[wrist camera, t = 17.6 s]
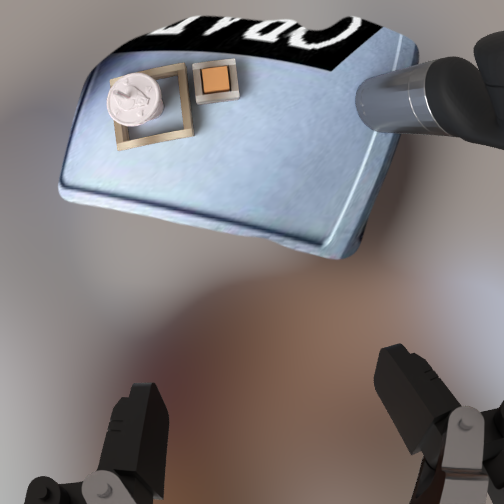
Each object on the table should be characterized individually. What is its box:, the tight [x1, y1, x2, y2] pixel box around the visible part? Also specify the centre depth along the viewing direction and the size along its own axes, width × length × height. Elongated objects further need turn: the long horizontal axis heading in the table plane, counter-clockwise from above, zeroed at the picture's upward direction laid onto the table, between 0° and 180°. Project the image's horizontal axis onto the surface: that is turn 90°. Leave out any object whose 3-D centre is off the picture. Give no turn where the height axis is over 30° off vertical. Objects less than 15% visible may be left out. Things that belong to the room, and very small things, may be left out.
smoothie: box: [107, 73, 164, 126], centre depth 30 cm, size 6×6×14 cm
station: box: [110, 58, 240, 151], centre depth 35 cm, size 17×10×3 cm, turn 96°
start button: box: [202, 66, 230, 95], centre depth 34 cm, size 3×3×2 cm
